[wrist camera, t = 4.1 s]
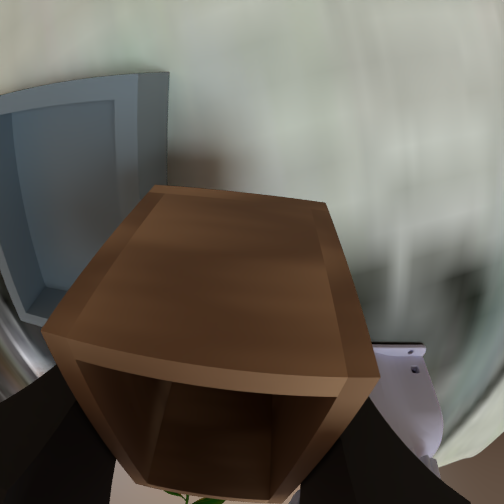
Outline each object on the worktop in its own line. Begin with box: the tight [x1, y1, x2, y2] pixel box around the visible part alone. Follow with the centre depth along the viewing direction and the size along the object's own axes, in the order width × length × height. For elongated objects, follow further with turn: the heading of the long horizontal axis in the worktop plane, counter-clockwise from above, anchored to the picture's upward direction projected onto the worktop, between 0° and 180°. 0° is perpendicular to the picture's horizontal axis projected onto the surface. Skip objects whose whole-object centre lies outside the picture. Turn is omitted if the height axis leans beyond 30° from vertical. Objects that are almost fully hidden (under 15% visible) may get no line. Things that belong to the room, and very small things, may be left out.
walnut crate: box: [41, 185, 381, 503], centre depth 9 cm, size 5×8×6 cm, turn 174°
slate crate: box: [0, 72, 169, 327], centre depth 16 cm, size 11×15×4 cm
